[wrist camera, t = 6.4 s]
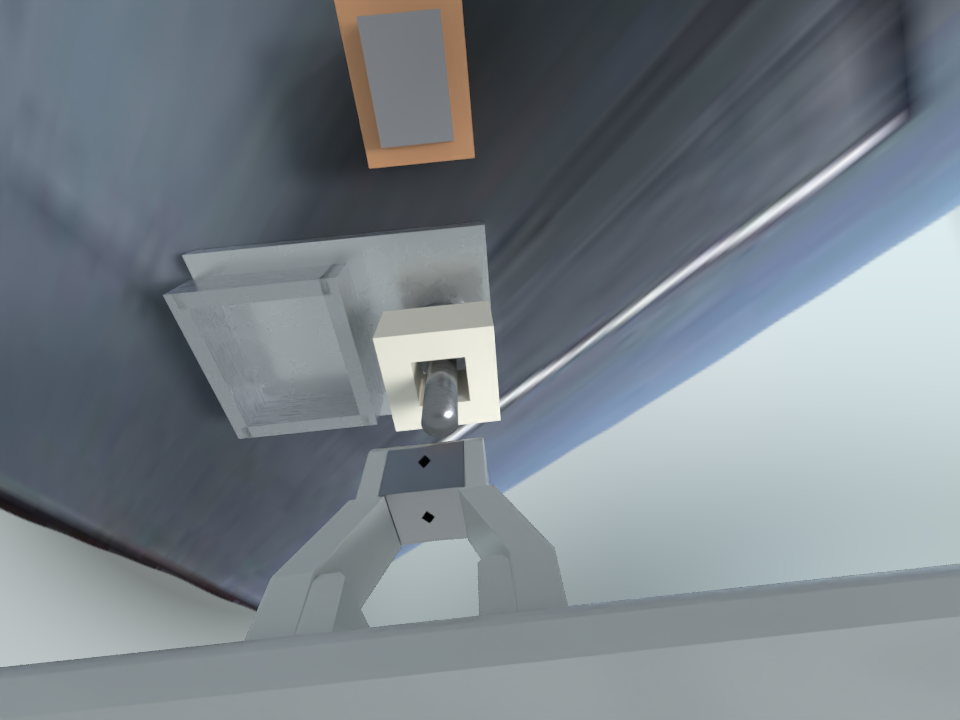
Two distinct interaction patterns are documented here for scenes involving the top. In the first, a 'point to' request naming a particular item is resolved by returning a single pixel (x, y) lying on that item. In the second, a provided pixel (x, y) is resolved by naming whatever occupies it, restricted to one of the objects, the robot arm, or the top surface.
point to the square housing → (434, 338)
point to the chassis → (323, 323)
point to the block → (408, 79)
